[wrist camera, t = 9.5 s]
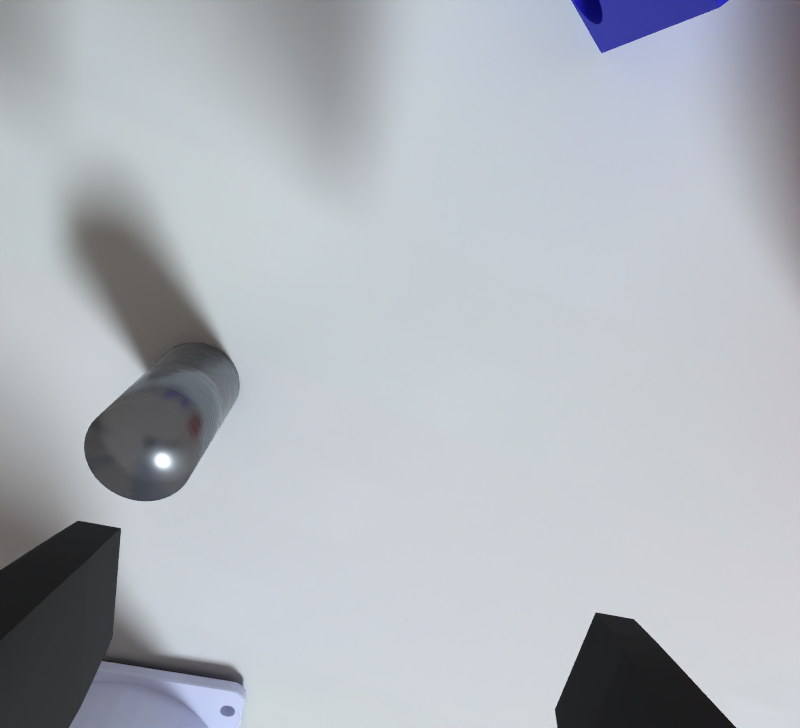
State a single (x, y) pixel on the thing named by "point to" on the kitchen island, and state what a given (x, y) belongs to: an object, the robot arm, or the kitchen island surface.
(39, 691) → the robot arm
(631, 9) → the cable clip
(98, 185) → the kitchen island surface
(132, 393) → the short pin
